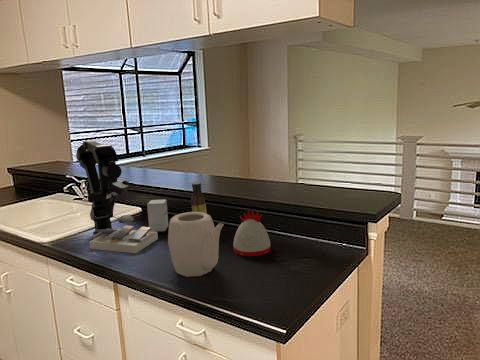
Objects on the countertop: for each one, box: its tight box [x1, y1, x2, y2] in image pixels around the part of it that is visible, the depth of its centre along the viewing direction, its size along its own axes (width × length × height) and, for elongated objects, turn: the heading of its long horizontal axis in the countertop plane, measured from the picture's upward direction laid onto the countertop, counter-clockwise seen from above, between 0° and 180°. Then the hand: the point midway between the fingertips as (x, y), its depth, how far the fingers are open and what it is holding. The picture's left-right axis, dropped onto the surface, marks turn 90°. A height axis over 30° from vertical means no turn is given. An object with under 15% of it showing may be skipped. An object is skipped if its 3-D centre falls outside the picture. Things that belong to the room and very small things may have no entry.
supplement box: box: [146, 199, 169, 232], centre depth 179 cm, size 7×7×13 cm
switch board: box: [89, 228, 159, 254], centre depth 163 cm, size 23×16×4 cm
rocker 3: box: [129, 226, 151, 241], centre depth 159 cm, size 4×9×2 cm, turn 161°
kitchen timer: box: [232, 210, 272, 257], centre depth 150 cm, size 14×14×15 cm
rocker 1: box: [96, 228, 118, 234], centre depth 165 cm, size 4×9×2 cm, turn 160°
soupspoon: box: [118, 214, 135, 223], centre depth 200 cm, size 22×3×7 cm
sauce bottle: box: [190, 181, 208, 214], centre depth 179 cm, size 6×6×20 cm
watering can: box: [167, 211, 224, 278], centre depth 131 cm, size 16×27×19 cm, turn 47°
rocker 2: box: [112, 224, 135, 239], centre depth 162 cm, size 4×9×2 cm, turn 160°
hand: (110, 213), depth 166 cm, fingers closed
